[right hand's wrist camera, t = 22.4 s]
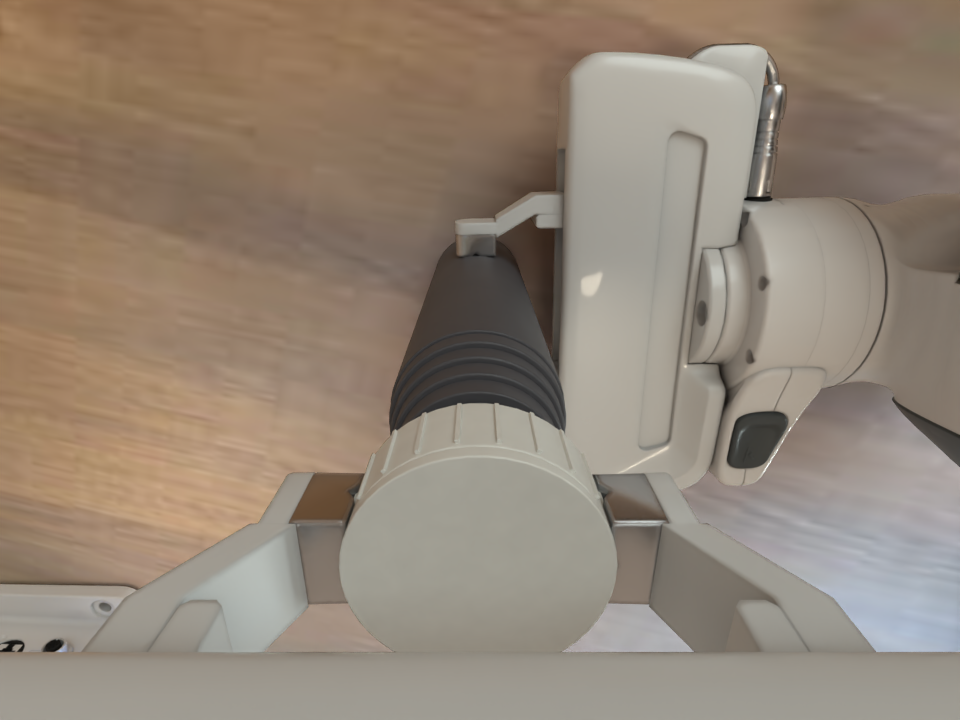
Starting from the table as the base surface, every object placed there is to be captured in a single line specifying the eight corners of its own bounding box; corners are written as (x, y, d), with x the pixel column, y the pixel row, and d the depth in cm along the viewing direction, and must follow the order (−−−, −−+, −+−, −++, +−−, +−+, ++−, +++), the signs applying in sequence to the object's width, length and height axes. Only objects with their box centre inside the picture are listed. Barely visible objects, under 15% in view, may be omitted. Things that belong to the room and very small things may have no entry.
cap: (311, 517, 10) (279, 588, 9) (465, 349, 9) (462, 394, 7) (488, 630, 12) (490, 712, 10) (646, 495, 10) (680, 563, 9)
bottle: (483, 333, 31) (496, 679, 10) (418, 284, 30) (293, 565, 9) (536, 271, 29) (667, 531, 9) (470, 217, 28) (454, 376, 8)
